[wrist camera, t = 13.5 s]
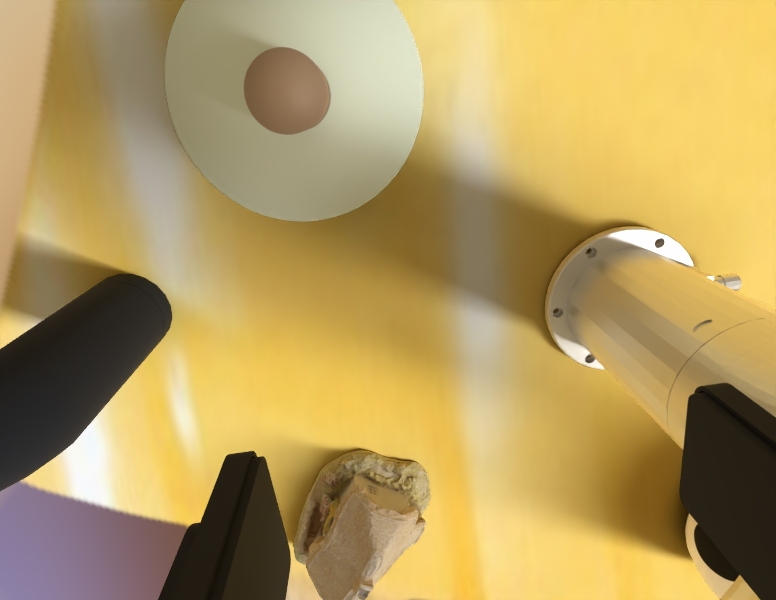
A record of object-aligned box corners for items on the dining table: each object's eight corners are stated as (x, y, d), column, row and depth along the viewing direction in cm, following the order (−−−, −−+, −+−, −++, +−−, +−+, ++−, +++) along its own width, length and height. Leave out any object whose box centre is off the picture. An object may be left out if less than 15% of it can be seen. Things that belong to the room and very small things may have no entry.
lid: (406, -69, 28) (418, -114, 22) (433, 201, 33) (448, 219, 28) (136, -32, 28) (81, -67, 22) (207, 233, 33) (176, 258, 28)
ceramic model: (347, 427, 46) (344, 508, 37) (448, 475, 49) (469, 561, 40) (276, 532, 50) (257, 629, 41) (373, 571, 53) (377, 671, 43)
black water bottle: (188, 327, 42) (-158, 769, 14) (122, 358, 42) (-335, 842, 14) (142, 260, 40) (-381, 622, 12) (73, 294, 40) (-577, 716, 12)
